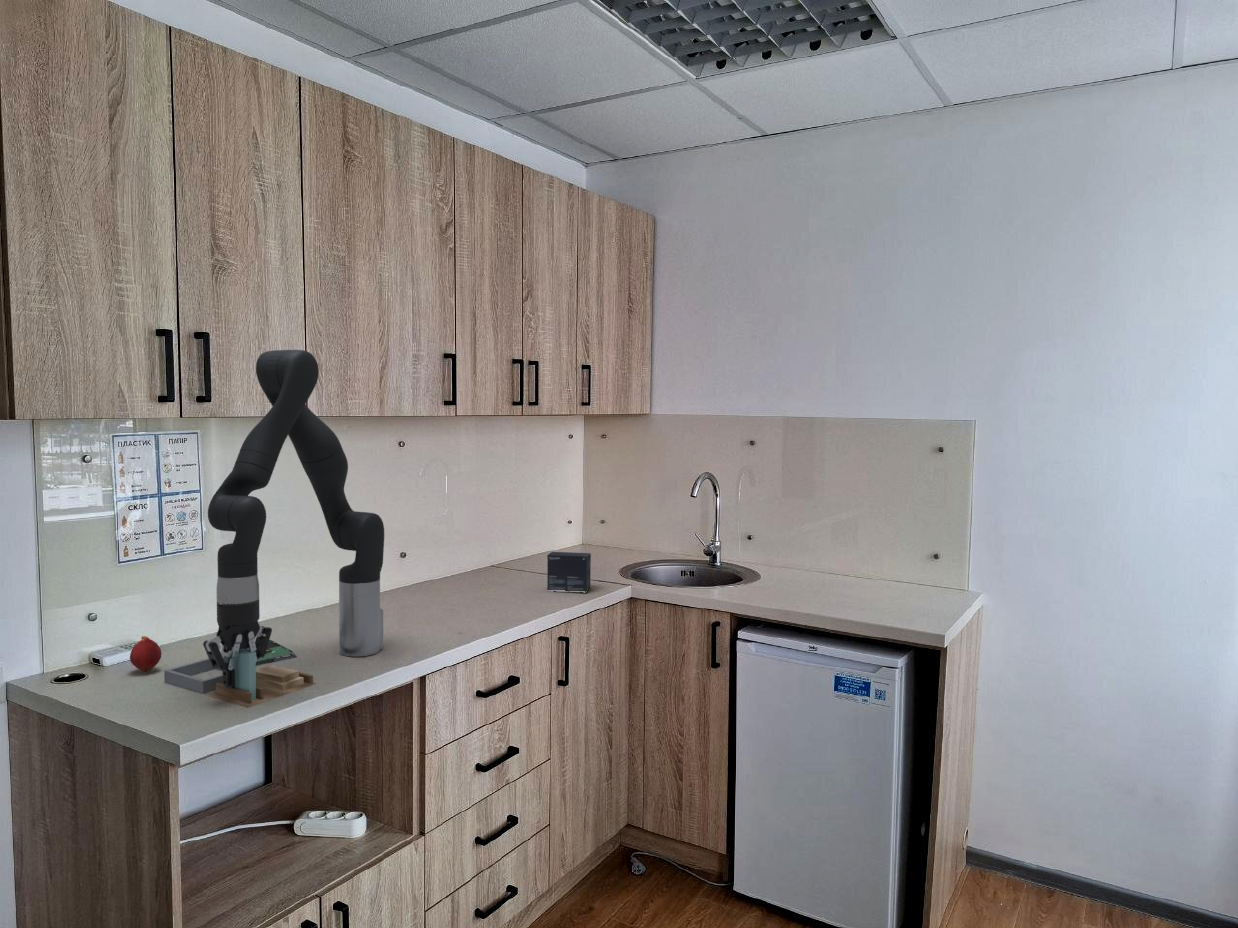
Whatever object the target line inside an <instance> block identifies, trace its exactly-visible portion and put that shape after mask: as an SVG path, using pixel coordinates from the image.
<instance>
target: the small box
mask: <svg viewBox="0 0 1238 928" xmlns="http://www.w3.org/2000/svg"><path fill="white" fill-rule="evenodd" d="M546 555H547V556H546V557H547V563H546V564H547V565H546V566H547V570H546V571H547V576H546V577H547V581H546V583H547V588H546V591H547V590H565V591H585V592H586V591H588V590H589V589H590V590H591V565H592V564H591V563H592V561H591V559H592V557H591V556H592V553H591V552H566V551H565V552H564V551H551V552H550V553H548V554H546ZM590 590H589V591H590ZM589 591H588V592H589Z"/></svg>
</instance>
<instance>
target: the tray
mask: <svg viewBox="0 0 1238 928" xmlns="http://www.w3.org/2000/svg"><path fill="white" fill-rule="evenodd" d="M212 670H219V671H222V670H221V669H218V668H214V667H212V665H211V662H210V660H209V658H208V657H207V658H205V659H200V660H198V661H193V662H190V663H187V664H183V665H178V666H176V667H172V668H169V669H165V670H164V671H163V674H164V675H163V677H164V683H165V684H169V685H173V686H175V687H179V688H183V689H185V690H190V691H192V692H195V693H199V694H204V695H205V694H208V693H211V692H214V691H216V684H217V683H220V684H223V673H221V674H219V675H215V676H212V677H209V678H205V679H202V678H199V677H195V675H198V674H202V673H206V672H209V671H212Z"/></svg>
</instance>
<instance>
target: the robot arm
mask: <svg viewBox="0 0 1238 928" xmlns="http://www.w3.org/2000/svg"><path fill="white" fill-rule="evenodd" d="M256 359H257V360H256V364H255V372H256V373H255V374H256V378H257V381H258V384H259V386H260V387H261V390H262V391H263V393H264V395H265V396H266V398H267V399H268V402H269V403H270V404H271V408H270V409H269V411H268V412H267V413H266V414H265V415H264V417H262V419H261V420H260V421H259V422H258V423H257V424H256V425H255V426H254V427H253V428H252V429H251V431H250V432H249V433H248V435H247V436H246V437H245V439H244V441H243V442H242V444H241V447H240V449H239V452H238V454H237V458H236V459H235V462H234V465H233V467H232V470H231V472H230V473H229V474H228V476H227V477H226V478H225V479H224V481H223V482H222V483H221V485H220V486H219V487H218V489H217V490H216V491H215V493H214V495H213V496H212V498H211V499H210V502H209V505H208V508H207V518H208V522H209V525H210V526H211V527H212V528H214V529H215V530H218V531H221V532H235V535H234V539H233V540H232V541H233V542H232V543H227V544H223V545H222V546H220V547H219V548H218V551H217V579H216V581H217V582H216V590H215V591H216V623H217V625H218V630H217V632H216V636H214V637H213V638H212V639H210V640H204V641H203V643H202V645H203V648H204V650H205V653H206V655H207V659H208V658H209V660H210V662H211V665H212V667H214V668H218V669H221V670H220V671H222V674H223V685H224V686H225V687H226V688H229V689H232V688H235V669H233V668H234V665H235V659H236V658H237V657H238V652H239V650H243V651H247V652H251V653H255V654H256V662H257V660H258V659H259V658H263V657H264V656H265V653H266V649H267V646H268V642H269V640H271V635H272V631H273V628H272V627H268V626H263V625H260V623H259V620H260V616H261V615H260V583H259V575H258V572H259V570H258V552H259V549H260V545H261V542H262V538H263V534H264V531H265V526H266V523H267V510H266V507H265V505H264V503H263V502H262V500H260V498H258V497H256V496H253V495H250V494H251V493H252V492H254V491H257V490H261V489H264V488H265V487H267V486H268V484H269V483H270V480H271V477H272V475H273V472H274V469H275V467H276V465H277V461H278V460H279V456H280V453H281V450H282V449H283V445H284V443H285V442H286V439H287V437H289V439H290V441H291V444H292V445H293V448H294V450H295V452H296V455H297V457H298V459H299V462H300V464H301V466H302V468H303V470H304V472H305V475H306V476H307V477H308V479H309V483H310V484H311V486H312V488H313V491H314V493H315V496H316V498H317V500H318V503H319V505H320V508H321V510H322V513H323V517H324V520H325V523H326V527H327V529H328V532H329V535H330V537H331V540H332V541H333V543H334V545H336V547H337V548H340V549H342V550H345V551H353V552H355V557H354V561H353V562H352V563H351V564H348V565H344V566H343V567H341V568H340V569H339V571H338V597H339V598H338V599H339V600H338V603H339V604H338V605H339V607H338V610H339V611H338V612H339V616H338V617H339V618H338V619H339V620H338V621H339V622H338V623H339V624H338V625H339V627H338V629H339V640H338V641H339V654H340V655H342V656H343V657H344V656H346V657H357V658H358V657H366V656H372V655H375V654H377V653H379V652H380V651H381V650H383V649H384V609H382V608H381V572H382V568H383V564H384V550H385V549H384V547H385V525H384V521H383V520H382V519H383V518H381V516H380V515H379V514H377V513H375V512H366V511H355V510H353V509H352V508H351V505H350V503H349V501H348V499H347V496H346V494H345V485H346V480H347V478H348V477H347V476H348V471H349V463H348V458H347V456H346V453H345V451H344V448H343V447H342V444H341V442H340V439H339V438H338V436H337V435H336V433H335V432H334V431H333V430H332V429H331V428H330V427H329V425H327V424H326V423H325V422H324V421H322V419H320V417H318V416H317V415H316V414H315V413H314V412H313V411H312V410H311V409H310V408H309V406H307V402H308V400H309V399H310V397H311V395H312V393H313V391H314V390H315V387H316V385H317V382H318V380H319V374H320V371H319V370H320V369H319V363H318V362H317V359H316V358H315V356H314V354H312V353H311V352H310V351H306V350H304V349H280V350H278V349H277V350H268V351H265V352H263V353H261V354H260V355H259V356H258V357H257V358H256ZM220 644H221V645H222V646H221V645H220ZM260 646H261V647H260ZM259 649H260V650H259ZM229 650H230V651H231V652H229ZM218 669H217V670H218Z"/></svg>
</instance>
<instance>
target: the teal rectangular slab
mask: <svg viewBox="0 0 1238 928" xmlns="http://www.w3.org/2000/svg"><path fill="white" fill-rule="evenodd" d="M229 652H231V651H230V650H229ZM233 669H235V688H237V689H241V690H244V691H248V692H252V700H255V699H256V670H257V667H256V654H255V653H251V652H247V651H243V650H239V652H238V657H237V658H236V659H235V665H234V668H233Z"/></svg>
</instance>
